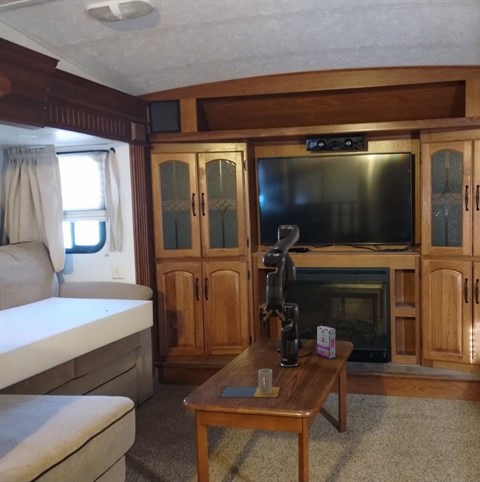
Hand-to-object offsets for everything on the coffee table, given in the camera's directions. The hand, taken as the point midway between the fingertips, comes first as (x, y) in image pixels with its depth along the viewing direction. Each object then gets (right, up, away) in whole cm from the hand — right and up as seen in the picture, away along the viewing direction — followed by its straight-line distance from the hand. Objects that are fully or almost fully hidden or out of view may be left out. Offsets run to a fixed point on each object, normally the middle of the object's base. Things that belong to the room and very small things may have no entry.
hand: (274, 328), depth 208 cm
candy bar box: (+25, -24, +42) cm, 55 cm away
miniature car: (+3, -24, +55) cm, 60 cm away
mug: (-3, -26, -12) cm, 29 cm away
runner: (-10, -27, -11) cm, 30 cm away
